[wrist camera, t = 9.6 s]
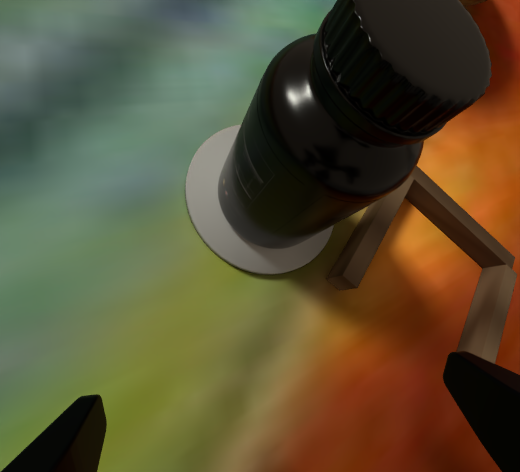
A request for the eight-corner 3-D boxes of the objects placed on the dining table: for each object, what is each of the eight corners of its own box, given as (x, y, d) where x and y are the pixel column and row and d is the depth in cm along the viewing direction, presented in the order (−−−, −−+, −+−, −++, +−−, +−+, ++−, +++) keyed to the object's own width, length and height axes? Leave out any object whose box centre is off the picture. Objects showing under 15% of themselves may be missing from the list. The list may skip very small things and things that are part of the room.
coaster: (346, 262, 20) (351, 261, 20) (198, 287, 16) (199, 286, 16) (313, 130, 22) (316, 126, 22) (174, 126, 18) (175, 121, 18)
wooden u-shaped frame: (459, 391, 21) (486, 397, 19) (326, 279, 19) (342, 275, 18) (496, 266, 25) (520, 262, 23) (390, 168, 24) (408, 157, 22)
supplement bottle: (306, 152, 21) (479, -34, 10) (324, 248, 19) (554, 151, 8) (208, 146, 18) (296, -113, 7) (219, 255, 17) (353, 130, 6)
